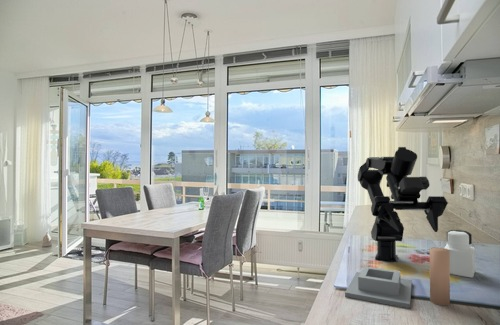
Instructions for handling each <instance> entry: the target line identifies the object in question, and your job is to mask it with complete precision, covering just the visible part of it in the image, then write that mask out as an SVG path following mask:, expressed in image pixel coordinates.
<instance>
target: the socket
mask: <svg viewBox="0 0 500 325" xmlns="http://www.w3.org/2000/svg"><path fill="white" fill-rule="evenodd" d="M412 280H413V279H406V278H401V271H400V270H395V269H394V270H393V269H387V268H386V269H385V268H378V267H372V266H371V267H370V266H365V265H364V266H363V267H362V269H361V271H359V272H358V271H356V272H355V274H354V276H353V277H352V279H351V281H350V283H349V284H348V287H347V288H346V290H345V291H344V297H345V298H352V299H355V300H356V299H357V300H361V301H366V302H367V301H368V302H372V303H379V304H383V305H388V306H389V305H390V306H395V307H400V308H405V309H410V308H411V299H412V283H413V282H412Z"/></svg>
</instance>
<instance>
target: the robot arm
mask: <svg viewBox="0 0 500 325" xmlns="http://www.w3.org/2000/svg"><path fill="white" fill-rule="evenodd" d="M417 159H418V154H417V153H416V152H414V151H412V150H411V149H407V147H406V146H399V147H398V148H397V149H396V151H395V153H394V156H377V157H376V156H371V157H366V159H365V162H364V163H363V164H362V165H361V166H359V169H358V173H357V181H358V183H359V184H360V187H362V188H363V189H364V190H366V191H367V194H368V197H369V199H370V202H371V206H370V210H371V214H372V216H373V217H375V220H374V223H373V225H372V228H371V231H370V235H371V239H372V240H374V241H375V242H376V244H377V247H376V252H377V253H376V255H375V256H374V259H375V260H378V261H388V262H394V263H395V262H397V261H398V258H399V256H398V254H397V252H396V251H397V250H396V249H397V242H403V238H404V230H405V227H404V225H403V223H402V222H401V218H400V217H399V213H398V212H397V211H424V214H425V215H426V217H425V219H427V223H429V225H430V227H431V229H432V230H433V231H434V232H435V233H438V231H439V217H441V216H442V215H444V212H445V210H446V208H447V205H448V204H449V202H448V201H447V198H446V197H445V196H442V195H441V196H439V195H438V196H428V197H427V199H426V201H418V199H421V191H422V190H423V191H425V190H427V189H428V188H429V187H430V181H429V179H428V177H427V176H411V175H412V173H413V170H414V168H415V165H416V162H417ZM385 175H386V176H385ZM383 176H385V179H386V187H387V188H389V189H390V193H391V195H390V196H387V195H386V196H385V195H384V191H383V190H382V187H381V183H382V180H383ZM395 210H396V211H395Z"/></svg>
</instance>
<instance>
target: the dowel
mask: <svg viewBox="0 0 500 325" xmlns="http://www.w3.org/2000/svg"><path fill="white" fill-rule="evenodd" d="M450 278H451V274H450V251H449V250H448V249H445V248H444V247H436V246H435V247H434V246H433V247H430V248H429V301H430V302H431V303H432V304H435V305H439V306H450V305H451V279H450Z"/></svg>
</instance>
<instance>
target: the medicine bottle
mask: <svg viewBox="0 0 500 325" xmlns="http://www.w3.org/2000/svg"><path fill="white" fill-rule="evenodd" d="M472 238H473V237H472V233H470V232H469V231H467V230H463V229H461V230H460V229H449V230H447V232H446V245H445V246H444V247H443V248H445V249H448V250H449V251H450V275H454V276H460V277H464V278H470V279H473V278H474V275H475V273H476V248H475V247H474V246H472Z"/></svg>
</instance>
